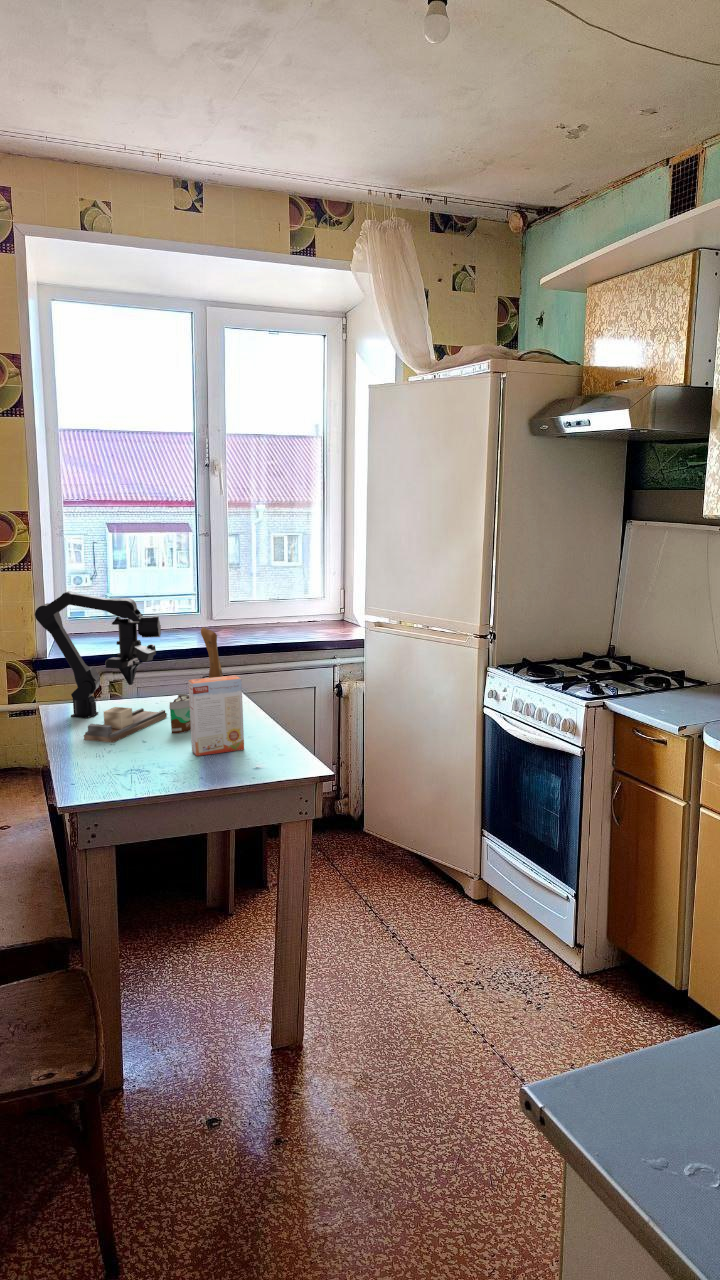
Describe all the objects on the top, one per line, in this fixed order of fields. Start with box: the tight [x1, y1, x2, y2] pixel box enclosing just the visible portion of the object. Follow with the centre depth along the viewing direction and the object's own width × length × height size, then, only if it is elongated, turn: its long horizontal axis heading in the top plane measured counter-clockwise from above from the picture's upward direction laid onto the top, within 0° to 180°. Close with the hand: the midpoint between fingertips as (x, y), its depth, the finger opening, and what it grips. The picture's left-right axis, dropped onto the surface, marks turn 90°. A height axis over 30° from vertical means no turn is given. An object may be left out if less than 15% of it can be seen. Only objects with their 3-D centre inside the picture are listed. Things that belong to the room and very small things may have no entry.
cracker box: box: [188, 674, 245, 757], centre depth 242 cm, size 14×6×21 cm, turn 114°
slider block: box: [103, 706, 133, 729], centre depth 263 cm, size 6×6×5 cm
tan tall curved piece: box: [200, 626, 224, 678], centre depth 285 cm, size 7×19×28 cm, turn 16°
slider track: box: [83, 707, 168, 744], centre depth 267 cm, size 10×30×4 cm, turn 162°
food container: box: [169, 693, 191, 735], centre depth 265 cm, size 12×6×10 cm, turn 179°
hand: (130, 684), depth 283 cm, fingers closed
